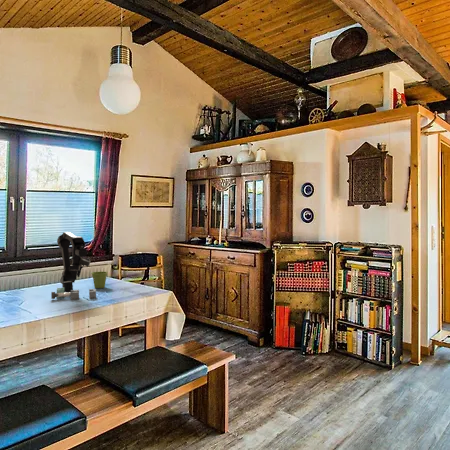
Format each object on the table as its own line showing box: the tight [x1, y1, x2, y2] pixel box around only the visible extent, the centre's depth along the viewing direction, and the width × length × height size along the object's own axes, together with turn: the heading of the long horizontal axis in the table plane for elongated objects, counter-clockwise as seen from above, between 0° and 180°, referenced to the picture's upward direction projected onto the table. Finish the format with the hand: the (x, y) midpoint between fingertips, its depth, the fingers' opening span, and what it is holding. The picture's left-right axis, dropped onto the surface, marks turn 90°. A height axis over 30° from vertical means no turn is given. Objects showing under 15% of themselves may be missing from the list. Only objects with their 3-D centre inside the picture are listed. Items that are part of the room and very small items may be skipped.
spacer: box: [56, 287, 65, 299], centre depth 258 cm, size 4×6×6 cm
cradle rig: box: [70, 288, 97, 301], centre depth 256 cm, size 16×8×5 cm, turn 111°
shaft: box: [50, 291, 71, 300], centre depth 252 cm, size 16×4×4 cm, turn 111°
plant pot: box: [91, 271, 108, 289], centre depth 289 cm, size 12×12×11 cm
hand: (77, 278), depth 261 cm, fingers open, 9 cm apart
